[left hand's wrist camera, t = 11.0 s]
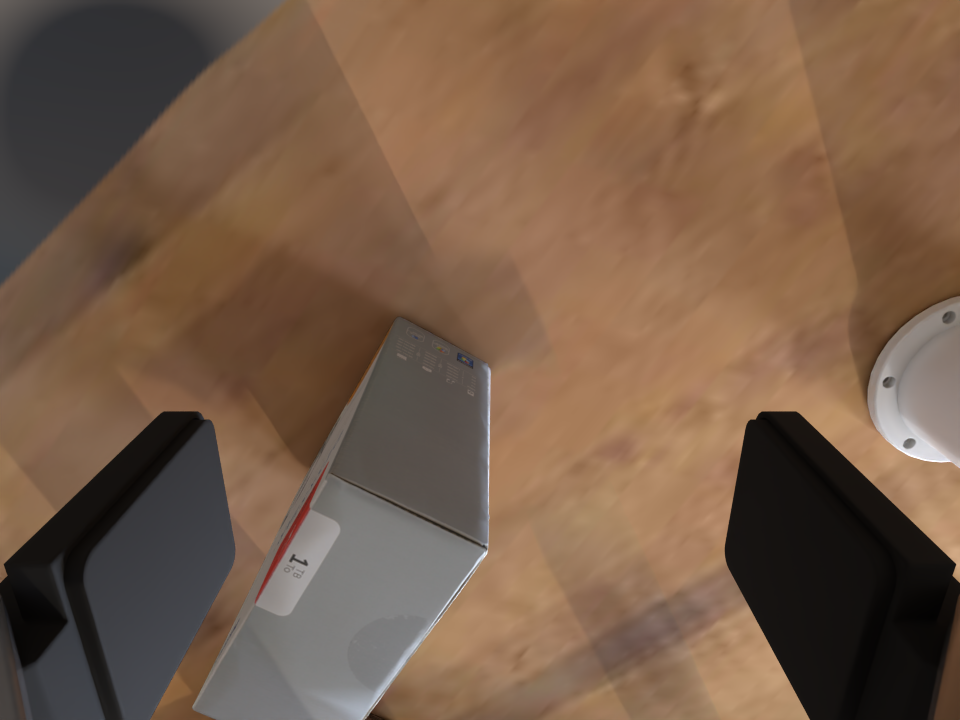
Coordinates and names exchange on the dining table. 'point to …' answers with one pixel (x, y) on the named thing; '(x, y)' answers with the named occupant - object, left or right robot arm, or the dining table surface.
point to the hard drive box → (366, 542)
